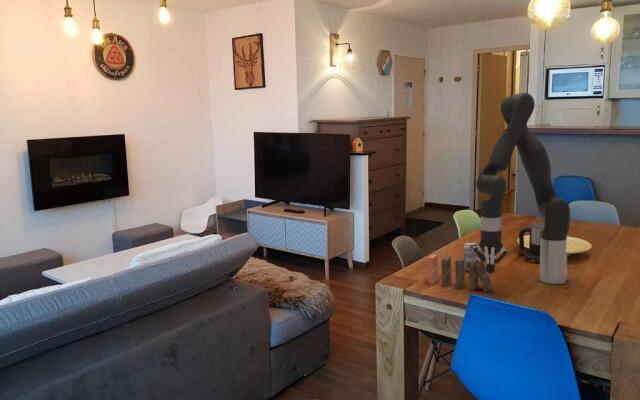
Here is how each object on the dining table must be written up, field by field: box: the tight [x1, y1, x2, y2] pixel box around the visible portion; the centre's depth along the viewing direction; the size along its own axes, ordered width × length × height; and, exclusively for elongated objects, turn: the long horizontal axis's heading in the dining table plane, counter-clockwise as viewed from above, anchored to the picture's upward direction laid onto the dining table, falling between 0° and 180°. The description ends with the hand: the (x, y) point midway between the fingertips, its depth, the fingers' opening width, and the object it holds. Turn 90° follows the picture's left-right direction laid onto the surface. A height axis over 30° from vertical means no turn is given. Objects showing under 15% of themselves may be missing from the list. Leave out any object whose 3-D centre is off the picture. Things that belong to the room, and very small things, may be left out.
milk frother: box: [518, 222, 545, 263], centre depth 228 cm, size 14×16×15 cm
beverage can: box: [463, 242, 480, 272], centre depth 217 cm, size 6×7×12 cm
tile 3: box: [454, 256, 466, 289], centre depth 199 cm, size 2×5×11 cm, turn 146°
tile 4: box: [441, 255, 452, 287], centre depth 202 cm, size 2×5×11 cm, turn 146°
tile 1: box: [474, 259, 494, 293], centre depth 194 cm, size 2×5×11 cm, turn 145°
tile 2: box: [468, 259, 480, 292], centre depth 196 cm, size 2×5×11 cm, turn 146°
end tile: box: [427, 254, 439, 285], centre depth 205 cm, size 2×5×11 cm, turn 147°
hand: (490, 272), depth 192 cm, fingers closed
